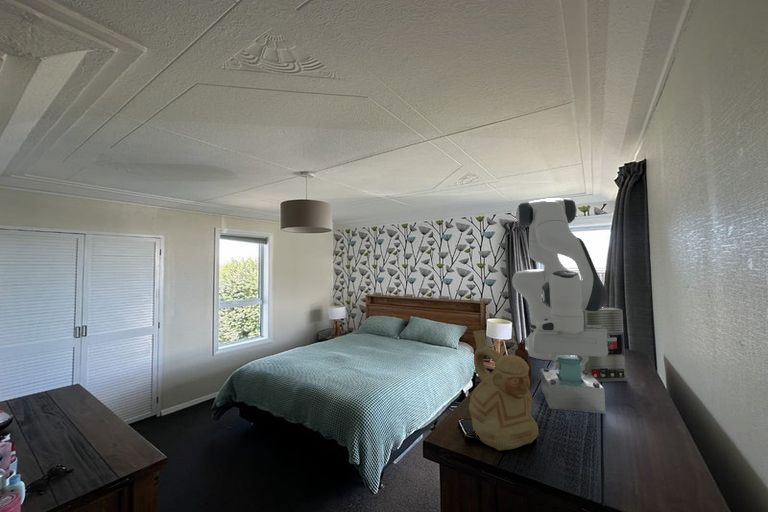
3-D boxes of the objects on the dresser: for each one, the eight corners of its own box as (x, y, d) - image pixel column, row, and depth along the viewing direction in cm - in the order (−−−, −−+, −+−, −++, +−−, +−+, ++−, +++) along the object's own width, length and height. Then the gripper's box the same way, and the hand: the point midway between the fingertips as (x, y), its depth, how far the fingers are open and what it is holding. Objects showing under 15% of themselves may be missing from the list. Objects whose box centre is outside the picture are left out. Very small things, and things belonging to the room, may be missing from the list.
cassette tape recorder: (588, 383, 110) (585, 311, 110) (578, 377, 116) (574, 308, 117) (628, 382, 110) (624, 309, 111) (615, 375, 116) (612, 307, 117)
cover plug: (557, 395, 100) (555, 355, 101) (579, 397, 99) (577, 356, 99) (561, 404, 95) (560, 361, 95) (584, 406, 93) (582, 362, 93)
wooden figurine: (533, 383, 111) (531, 340, 111) (516, 383, 112) (514, 340, 112) (528, 377, 117) (527, 336, 118) (512, 376, 118) (510, 336, 119)
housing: (541, 389, 105) (540, 366, 106) (589, 393, 101) (588, 370, 101) (549, 408, 92) (548, 382, 92) (605, 414, 88) (604, 386, 88)
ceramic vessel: (496, 467, 67) (492, 348, 67) (451, 423, 85) (448, 330, 86) (561, 451, 71) (556, 340, 72) (505, 413, 90) (501, 325, 91)
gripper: (602, 322, 97) (605, 368, 97) (530, 321, 103) (531, 363, 103) (610, 327, 91) (612, 375, 91) (532, 324, 97) (534, 370, 97)
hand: (569, 369), depth 97 cm, fingers closed on cover plug, 5 cm apart
